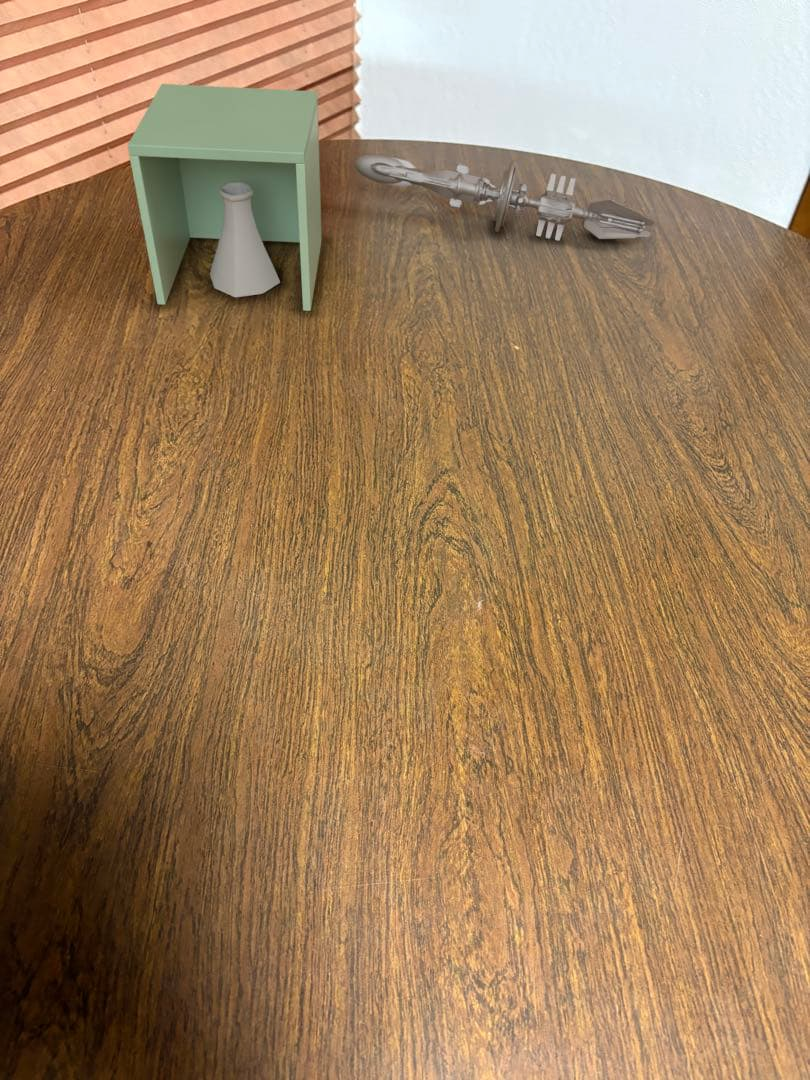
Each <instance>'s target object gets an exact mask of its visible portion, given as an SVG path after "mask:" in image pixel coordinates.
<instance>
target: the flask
mask: <svg viewBox="0 0 810 1080" xmlns="http://www.w3.org/2000/svg"><path fill="white" fill-rule="evenodd" d="M219 190H220V193H221V196H222V198H223V201H224V217H223V226H222V230H221V234H220V239H218V243H217V246H216V251H215V253H214V256H213V257H214V258H213V261H212V265H211V268H210V272H209V276H210V279H211V282H212V285H213V288H214V289H215V290H217V291H220V292H222V293H224V294H226V295H229V296H231V297H233V298H241V297H249V296H255V295H261V294H262V295H263V294H265V293H266V292H268V291H270V290H271V289H273V288H274V287H276V286H277V285H279V284H280V283H281V281H280V278H279V276H278V274H277V271H276V269H275V266H274V264H273V262H272V260H271V258H270V255H269V253H268V251H267V249H266V247H265V245H264V241H262V240H261V238H260V235H259V233H258V231H257V228H256V225H255V221H254V217H253V214H252V209H251V197H252V196H253V190H252V188H251V186H250V185H249V184H246V183H243V182H241V181H240V182H230V183H226V184H224V185H222V186H220V187H219Z"/></svg>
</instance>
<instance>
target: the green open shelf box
mask: <svg viewBox="0 0 810 1080" xmlns="http://www.w3.org/2000/svg"><path fill="white" fill-rule="evenodd" d="M318 98H319V97H318V91H315V90H298V89H297V90H296V89H295V90H294V89H293V90H292V89H275V88H274V89H273V88H255V87H254V88H253V87H234V86H214V85H213V86H212V85H196V84H195V85H194V84H193V85H192V84H173V83H161V84H160V86H159V87H158V90H157V91H156V93H155V95H154V97H153V98H152V101H151V102H150V104H149V106H148V108H147V109H146V111H145V113H144V115H143V117H142V118H141V120H140V122H139V124H138V125H137V127H136V129H135V130H134V132H133V134H132V136H131V138H130V140H129V141H128V143H127V149H128V154H129V160H130V161H129V162H130V166H131V171H132V176H133V183H134V187H135V192H136V193H135V194H136V197H137V203H138V209H139V213H140V218H141V224H142V229H143V234H144V241H145V244H146V250H147V256H148V261H149V267H150V272H151V276H152V277H151V278H152V282H153V283H152V284H153V287H154V292H155V298H156V303H157V305H162V306H163V305H165V306H166V304H167V302H168V299H169V296H170V293H171V290H172V288H173V284H174V282H175V280H176V277H177V275H178V271H179V268H180V266H181V264H182V261H183V258H184V255H185V253H186V250H187V247H188V245H189V243H190V239H191V238H193V239H216V240H219V239H220V234H221V230H222V226H223V217H224V201H223V198H222V196H221V193H220V190H219V187H220V186H222V185H224V184H226V183H230V182H240V181H241V182H243V183H246V184H249V185H250V186H251V188H252V190H253V196H252V197H251V209H252V214H253V217H254V221H255V225H256V228H257V231H258V233H259V235H260V238H261V240H262V242H279V243H280V242H282V243H299V255H300V257H299V258H300V278H301V297H302V298H301V299H302V300H301V301H302V311H304V312H305V311H306V312H311V311H312V307H313V299H314V293H315V292H314V291H315V286H316V281H317V280H316V279H317V273H318V268H319V262H320V261H319V260H320V254H321V249H322V248H321V247H322V242H323V234H322V208H321V207H322V204H321V203H322V201H321V171H320V170H321V169H320V168H321V167H320V135H319V132H320V131H319V101H318V100H319V99H318Z"/></svg>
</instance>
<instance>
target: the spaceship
mask: <svg viewBox="0 0 810 1080" xmlns="http://www.w3.org/2000/svg"><path fill="white" fill-rule="evenodd" d="M515 165H516V160H515V159H511V160H510V163H509V167H508V169H504V171H503V173H502V179H501V182H500V186H495V185H494V184H492V183H491V181H490V180H489V179H488V178H486V177H483V176H482V175H481V176H476V175H472V174H469V170H470V167H469V166H468V164H466V163H461V162H459V163H458V164H457V166H456V170H455V171H454V170H449V169H446V170H445V169H442V170H426V169H425V170H424V169H421V168H418V167H416V166H415V165H414V164H413V163H412V162H410V161H409V160H406V159H403V158H398V157H394V156H389V155H385V154H379V153H369V154H364V155H361V156H358V157H357V159H356V160H355V161H354V168H355V170H356V171H357V172H358V173H359V174H360V175H361V176H362V177H364V178H366V179H368V180H371V181H373V182H375V183H379V184H385V185H390V186H394V187H398V188H406V187H409V186H415V185H417V186H420V187H424V188H425V189H428V190H430V191H432V192H434V193H436V194H437V195H440V196H441V197H445V198H449V204H448V206H450V208H453V209H459V208H461V207H462V204H463V201H464V202H467V203H472V204H474V205H478V206H481V205H485V204H486V203H489V202H490V203H491V202H496V204H495V209H494V214H493V218H492V220H493V221H495V229H494V231H495V232H496V233H498V232H500V229H501V227H504V226H505V221H506V218H507V215H508V211H509V207H512V208H513V215H514V216H516V217H519V216H521V214H522V212H523V208H525V207H527V208H529V207H530V208H534V209H536V210H537V211H536V215H538V218H537V220H538V222H537V228H536V233H535V236H536V237H541V236H542V233H543V230H544V227H545V224H546V222H547V227H546V233H545V239H551V237H552V234H553V230H554V229H555V225H557V227H556V230H555V231H556V232H555V236H554V240H555V241H558V242H559V241H560V240H561V237H562V234H563V231H564V229H565V226H566V227H567V226H568V225H567V223H568V222H571V221H572V218H576V219H578V220H579V219H580V220H583V221H582V224H581V226H582V227H583V228H585V230H587V231H588V232H589V233H591V234H592V235H593V236H594V237H596V238H597V239H598V240H620V239H622V240H623V239H624V240H625V239H636V238H639V239H642V238H650V237H651V231H648V230H647V229H646V226H647V227H648V226H654V224H655V221H654V220H652V219H650V218H649V216H648V215H643V214H642V213H641V212H638V211H635V210H634V209H632V208H630V207H627V206H625V205H623V204H621V203H619V202H618V201H615V200H613V199H611V198H609V197H602V198H598V199H594V200H591V201H588V202H587V207H586V208H585V207H580V206H576V200H573V199H574V189H575V185H576V178H574V177H571V178H570V180H569V183H568V185H567V189H566V192H565V193H564V190H565V185H566V179H567V176H566V175H565V176H564V175H560V178H559V181H558V185H557V187H556V191H554V189H555V184H556V178H557V174H556V173H551V174H550V177H549V181H548V184H547V186H546V189H544V190H545V192H544V193H541V195H540V198H539V197H537V198H536V197H532V196H528V194H527V192H528V184H527V183H522V182H521V183H520V185H519V187H518V188H517V189H514V185H515V184H514V183H515V179H516V175H517V167H516V166H515Z"/></svg>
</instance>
